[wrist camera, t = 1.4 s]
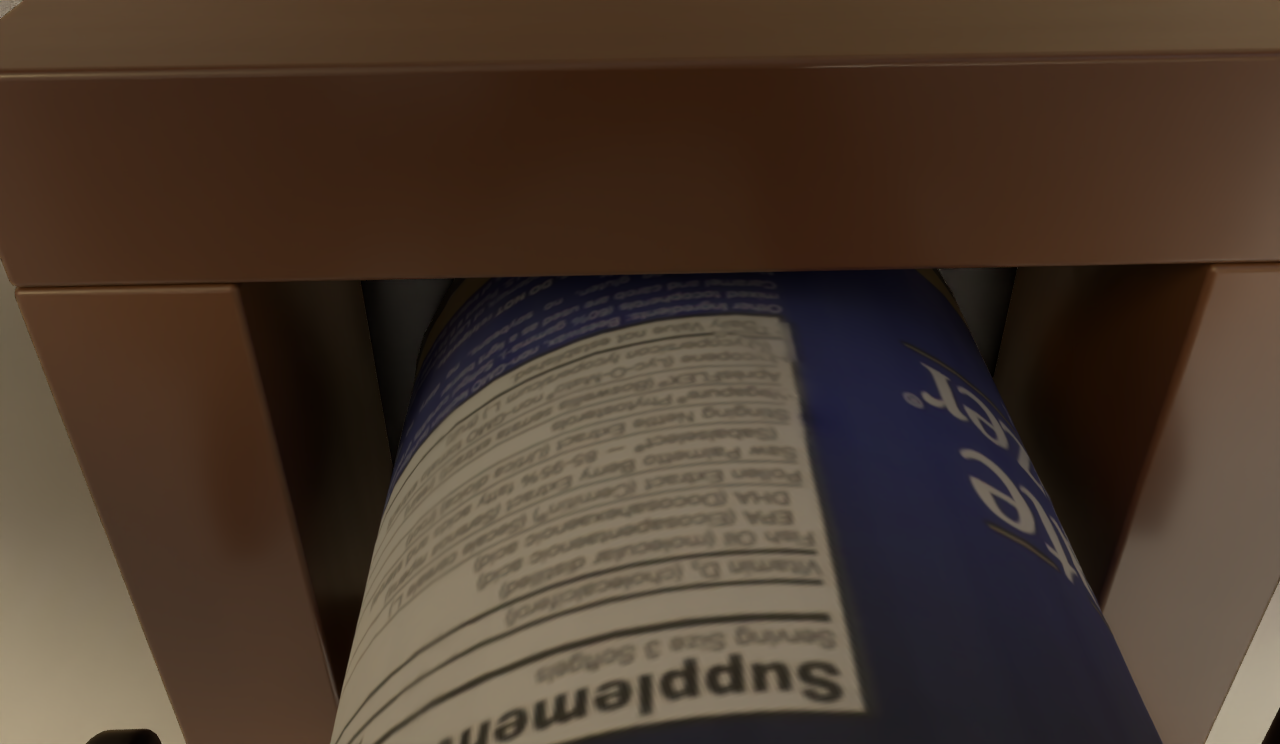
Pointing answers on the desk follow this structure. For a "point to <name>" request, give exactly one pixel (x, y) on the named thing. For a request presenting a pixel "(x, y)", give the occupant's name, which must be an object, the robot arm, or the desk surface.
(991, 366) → the desk surface
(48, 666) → the desk surface
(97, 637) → the desk surface
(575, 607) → the pill bottle
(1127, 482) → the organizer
